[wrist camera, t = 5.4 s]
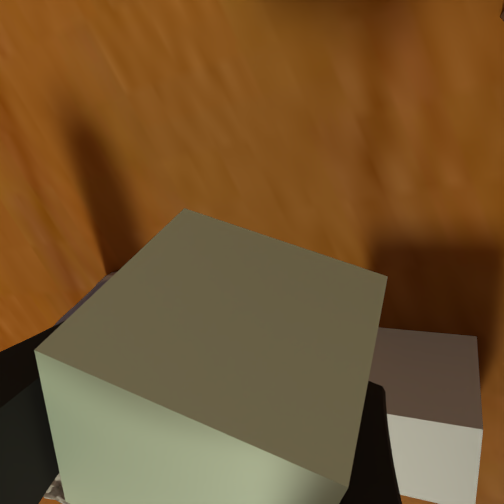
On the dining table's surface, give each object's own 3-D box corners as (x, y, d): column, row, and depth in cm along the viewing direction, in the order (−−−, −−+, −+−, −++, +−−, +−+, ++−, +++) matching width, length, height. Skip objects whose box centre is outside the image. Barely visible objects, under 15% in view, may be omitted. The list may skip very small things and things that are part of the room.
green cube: (387, 276, 10) (348, 487, 6) (330, 409, 13) (278, 609, 9) (184, 208, 11) (34, 350, 7) (174, 346, 14) (65, 501, 10)
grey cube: (476, 335, 19) (483, 429, 16) (470, 412, 22) (474, 511, 18) (360, 324, 21) (340, 406, 18) (366, 397, 24) (349, 482, 20)
